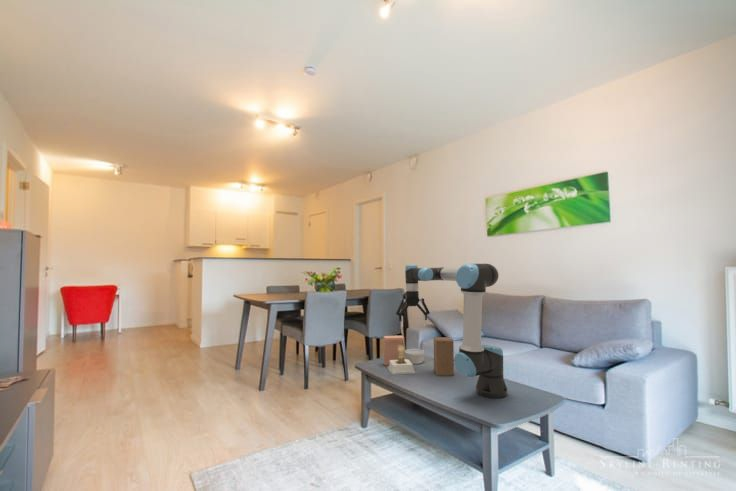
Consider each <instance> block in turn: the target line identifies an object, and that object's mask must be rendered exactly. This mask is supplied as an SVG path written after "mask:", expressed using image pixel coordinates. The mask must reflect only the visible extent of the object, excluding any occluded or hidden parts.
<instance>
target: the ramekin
mask: <svg viewBox="0 0 736 491" xmlns="http://www.w3.org/2000/svg"><path fill="white" fill-rule="evenodd" d="M424 358H425V351H424V350H422V349H419V348H410V349H409V348H408V349H406V350H405V349H404V359H408V360H409V361H410V362H411V363H412V364H413V365H419V364H422V363H424V360H425V359H424Z"/></svg>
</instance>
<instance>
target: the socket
mask: <svg viewBox="0 0 736 491" xmlns="http://www.w3.org/2000/svg"><path fill="white" fill-rule="evenodd" d="M387 370H388V371H389V373H390V374H391V375H394V376H395V375H397V376H398V375H399V376H400V375H415V374H416V371H415V370H414V364H412V363H411V362H410V361H409V360H408V359H405V358H404V364H398V360H389V365H387Z"/></svg>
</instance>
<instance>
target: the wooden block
mask: <svg viewBox="0 0 736 491" xmlns="http://www.w3.org/2000/svg"><path fill="white" fill-rule="evenodd" d="M454 347H455V346H454V340H453V339H452V338H451V337H450V336H449V337H444V336H443V337H442V336H440V337H439V336H438V337H435V336H434V337H433V370H434V373H435V374H436V376H442V377H443V376H453V377H454V375H455V365H454V357H455V355H454V352H455V351H454V350H455V349H454Z"/></svg>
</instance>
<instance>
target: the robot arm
mask: <svg viewBox="0 0 736 491" xmlns="http://www.w3.org/2000/svg"><path fill="white" fill-rule="evenodd" d="M404 269H405V270H404V272H405V276H404V278H405V290H406V291H405V298H401V299H400V303H399V306H398V307H397V309H396V312H395V315H397V316H398V321H399V322H400V327H401V328H404V316H403V314H404V313H405V312H406V311H407V309H408V308H409V307H417V308H418V310H420V311H421V312H422V326H423V327H426V321H427V320H428V316H427V315H430V313H431V312H430V311H429V308H428V306H427V305H426V303H425V299H424V298H419V294H420V292H419V281H420V282H429V281H430V282H431V281H447V282H448V281H449V282H451V281H453V282H456V284H457V286H458V287H459V288H460V292H461V293H462V295H463V311H462V312H463V314H462V316H463V317H462V343H461V344H460V345H459V348H458V349H459V350H458V352H457V353H456V354H455V355H454V368H455V370H456V371H457V372H458V374H459V375H460V376H462V377H464V378H475V377H476V376H478V378H477V381H476V384H475V393H477V394H478V395H480V396H481V397H482V396H483V397H484V398H485V397H486V398H491V399H499V398H500V399H501V398H502V399H503V398H505V397H507V396H508V394H509V393H508V387H507V385H506V381H505V378H504V350H503V348H501V347H499V346H495V345H491V344H482V326H483V325H482V323H483V321H482V319H483V316H482V314H483V313H482V312H483V295H484V294H486V292H487V291H486V290H487V289H486V288H488V287H489V288H490V287H493V286H494V285H495V284H496V283H497V282H498V280H499V275H500V274H499V271H498V269H497V268H496V266H494V265H492V264H491V263H472V262H471V263H465V264H463V265H461V266H460V267H443V266H442V267H419V266H418V265H417V264H407V265H405V268H404ZM404 303H406V304H405V306H403V305H404ZM419 303H421V304H422V306H423V308H422V306H421V305H420V304H419Z"/></svg>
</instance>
